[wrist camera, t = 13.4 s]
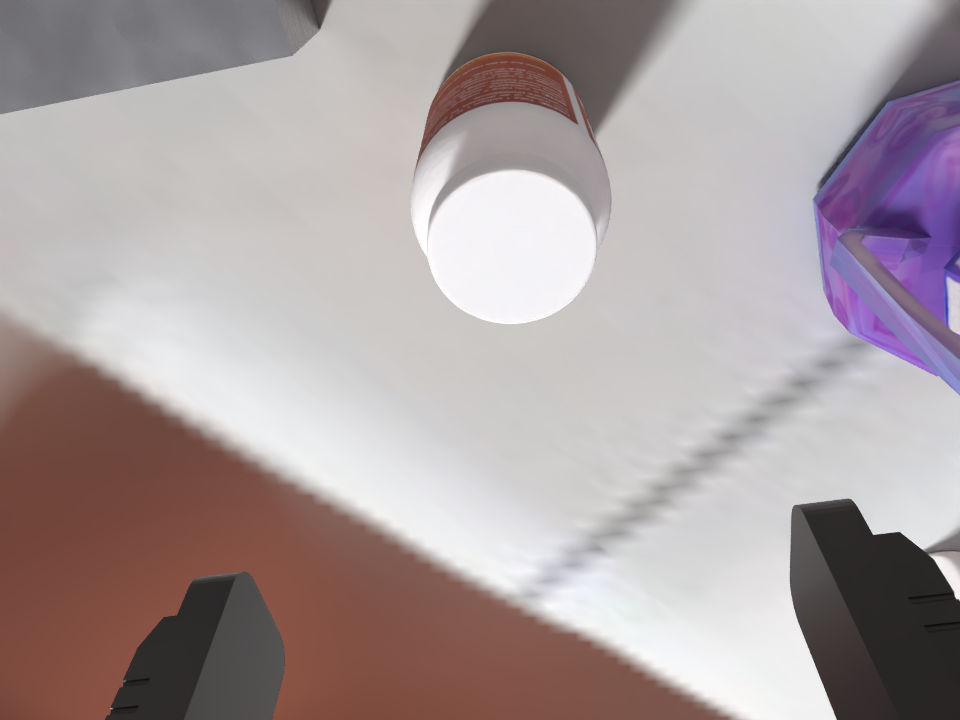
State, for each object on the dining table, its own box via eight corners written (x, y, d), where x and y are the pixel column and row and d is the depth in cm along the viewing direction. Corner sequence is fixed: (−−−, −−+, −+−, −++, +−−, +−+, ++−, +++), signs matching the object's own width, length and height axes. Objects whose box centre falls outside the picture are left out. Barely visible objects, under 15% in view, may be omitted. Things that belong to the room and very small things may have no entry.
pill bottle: (394, 134, 31) (349, 253, 22) (504, 10, 28) (508, 84, 19) (507, 236, 33) (512, 385, 24) (619, 129, 31) (673, 248, 21)
